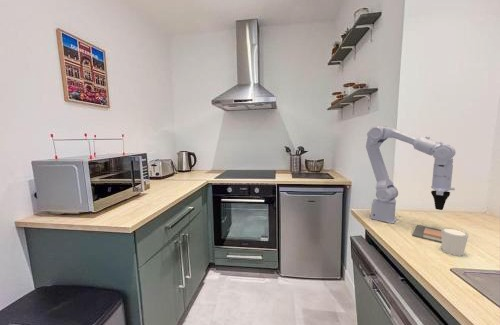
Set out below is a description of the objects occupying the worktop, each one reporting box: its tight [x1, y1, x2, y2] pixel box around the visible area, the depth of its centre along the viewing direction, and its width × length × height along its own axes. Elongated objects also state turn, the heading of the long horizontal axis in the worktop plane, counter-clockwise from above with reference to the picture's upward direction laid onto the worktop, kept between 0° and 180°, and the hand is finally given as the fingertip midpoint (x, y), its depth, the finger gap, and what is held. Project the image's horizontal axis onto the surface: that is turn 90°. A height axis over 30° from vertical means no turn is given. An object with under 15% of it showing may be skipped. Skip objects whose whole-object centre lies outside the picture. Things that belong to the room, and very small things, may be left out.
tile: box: [423, 228, 442, 241], centre depth 87 cm, size 7×2×6 cm
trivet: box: [411, 224, 442, 244], centre depth 89 cm, size 13×13×1 cm
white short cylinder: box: [440, 227, 469, 257], centre depth 77 cm, size 7×7×7 cm
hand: (439, 209), depth 91 cm, fingers closed
